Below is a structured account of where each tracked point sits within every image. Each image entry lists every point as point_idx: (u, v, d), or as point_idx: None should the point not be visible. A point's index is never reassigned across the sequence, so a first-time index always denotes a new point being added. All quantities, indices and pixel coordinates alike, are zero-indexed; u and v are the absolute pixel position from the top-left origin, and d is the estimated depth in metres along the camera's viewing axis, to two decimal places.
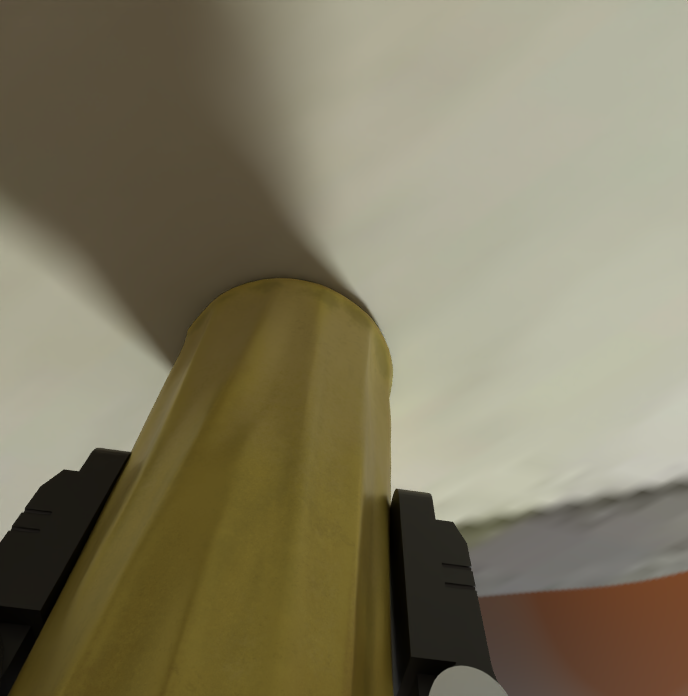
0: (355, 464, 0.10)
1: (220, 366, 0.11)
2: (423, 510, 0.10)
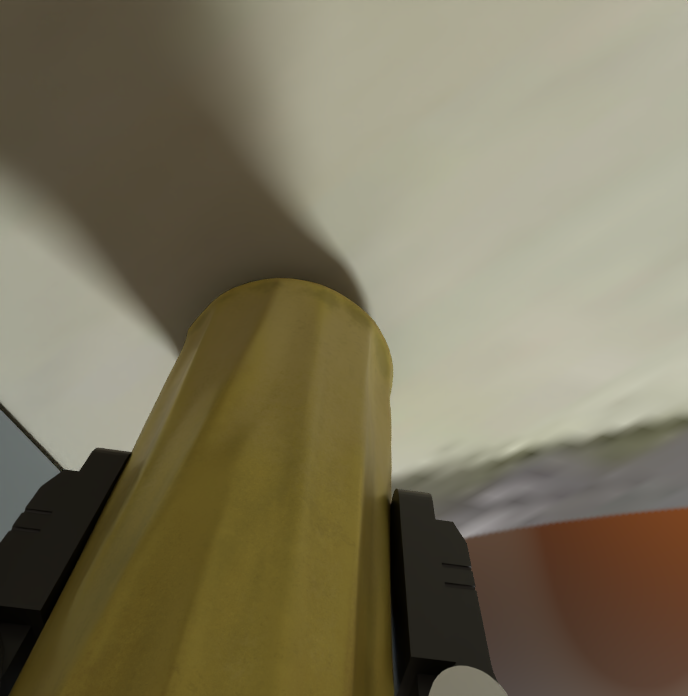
0: (356, 464, 0.10)
1: (220, 366, 0.11)
2: (423, 510, 0.10)
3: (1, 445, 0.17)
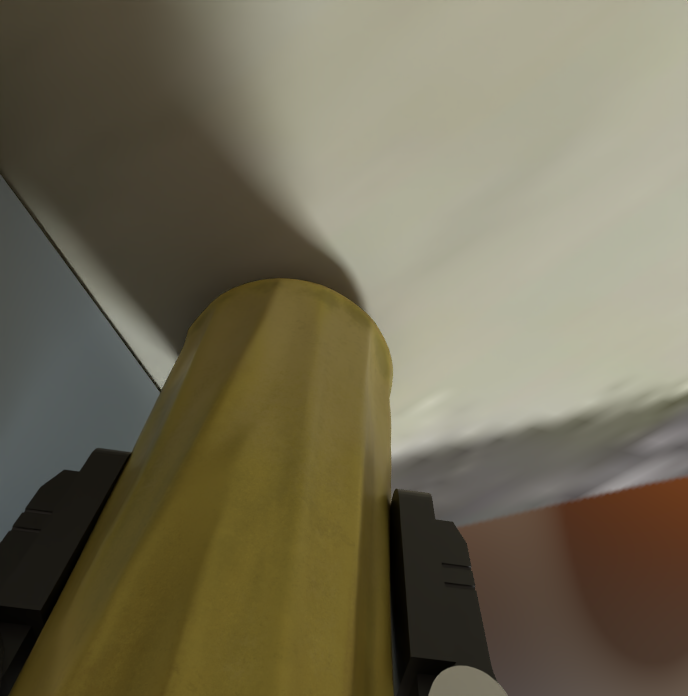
0: (355, 464, 0.10)
1: (220, 366, 0.11)
2: (423, 510, 0.10)
3: (133, 388, 0.16)
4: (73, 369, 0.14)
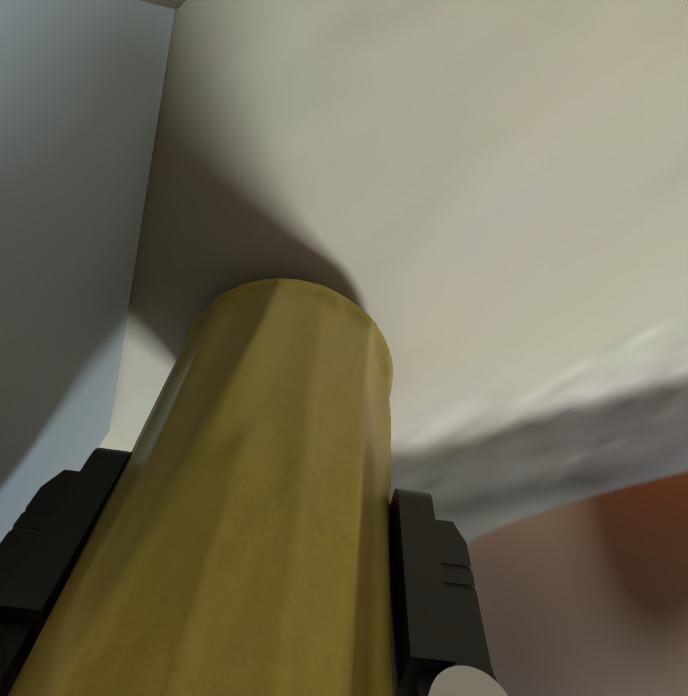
0: (355, 464, 0.10)
1: (220, 366, 0.11)
2: (423, 510, 0.10)
3: (113, 336, 0.15)
4: (97, 304, 0.13)
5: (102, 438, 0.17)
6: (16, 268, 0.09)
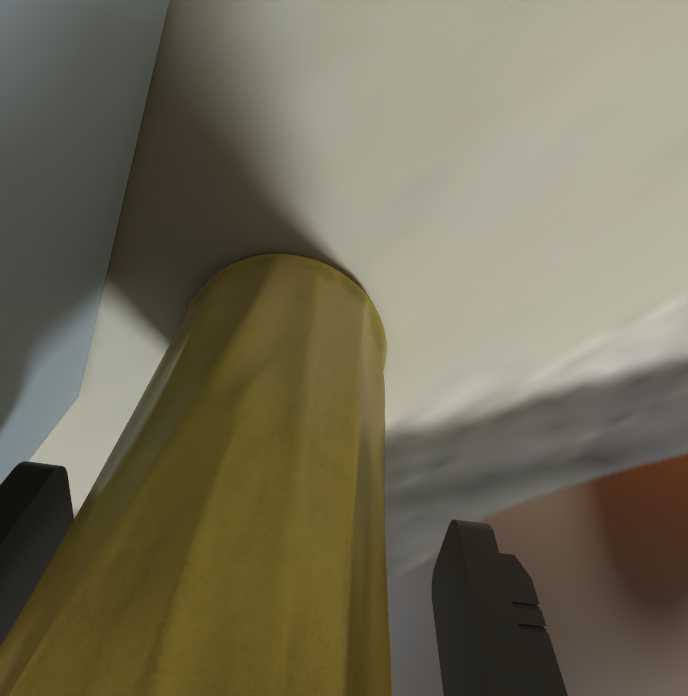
0: (352, 414, 0.10)
1: (222, 327, 0.12)
2: (485, 544, 0.10)
3: (89, 299, 0.15)
4: (75, 263, 0.12)
5: (70, 404, 0.17)
6: None
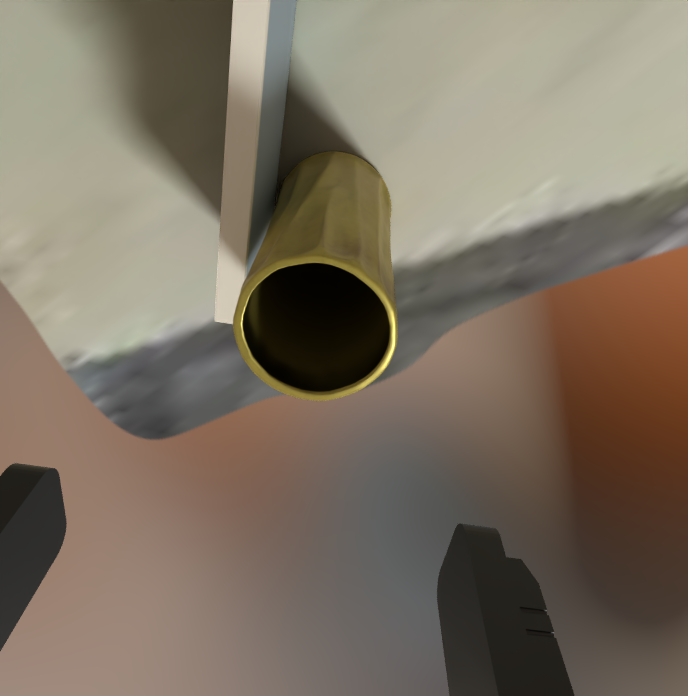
0: (376, 206, 0.23)
1: (313, 175, 0.25)
2: (492, 548, 0.10)
3: (274, 184, 0.28)
4: (274, 154, 0.25)
5: None
6: (266, 108, 0.21)
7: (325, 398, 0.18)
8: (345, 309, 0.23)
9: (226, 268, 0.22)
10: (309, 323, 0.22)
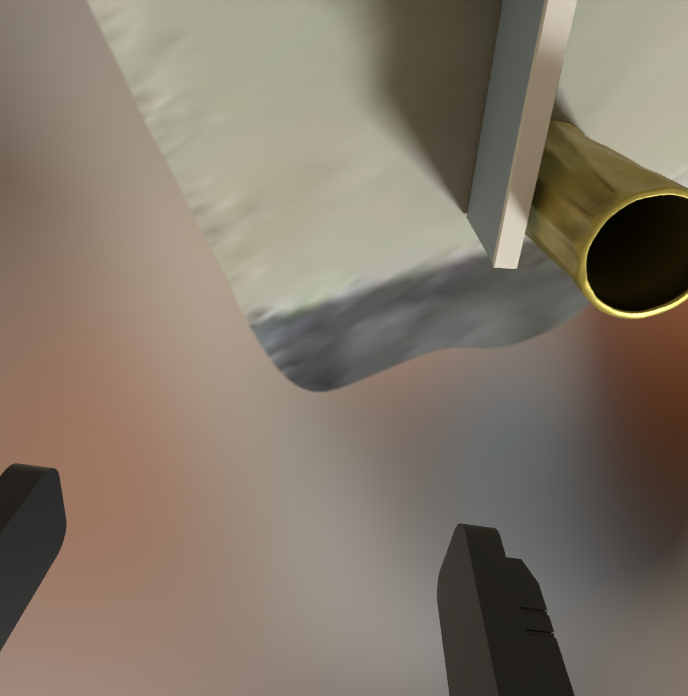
0: None
1: (556, 138, 0.28)
2: (492, 548, 0.10)
3: None
4: None
5: None
6: None
7: (639, 316, 0.21)
8: (597, 254, 0.26)
9: (512, 217, 0.25)
10: None
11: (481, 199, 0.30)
